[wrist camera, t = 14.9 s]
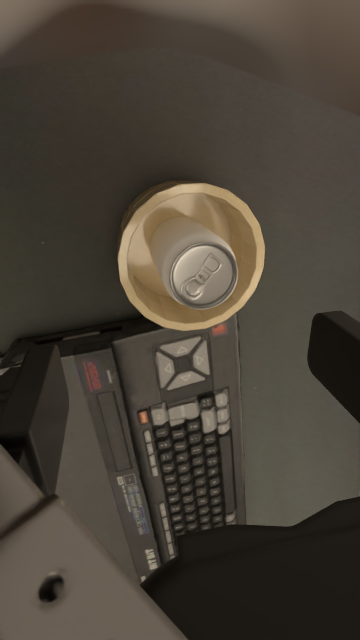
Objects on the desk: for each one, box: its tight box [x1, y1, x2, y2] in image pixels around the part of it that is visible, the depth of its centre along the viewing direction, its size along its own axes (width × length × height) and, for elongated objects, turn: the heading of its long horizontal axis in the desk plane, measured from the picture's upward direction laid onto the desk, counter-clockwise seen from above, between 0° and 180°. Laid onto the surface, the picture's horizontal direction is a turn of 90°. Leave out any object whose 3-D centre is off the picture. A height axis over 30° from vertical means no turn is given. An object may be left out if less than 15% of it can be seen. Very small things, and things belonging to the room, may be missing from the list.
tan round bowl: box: [117, 180, 265, 331], centre depth 35 cm, size 14×14×8 cm
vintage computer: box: [0, 312, 246, 585], centre depth 46 cm, size 43×29×8 cm
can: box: [150, 217, 238, 310], centre depth 32 cm, size 6×6×12 cm
